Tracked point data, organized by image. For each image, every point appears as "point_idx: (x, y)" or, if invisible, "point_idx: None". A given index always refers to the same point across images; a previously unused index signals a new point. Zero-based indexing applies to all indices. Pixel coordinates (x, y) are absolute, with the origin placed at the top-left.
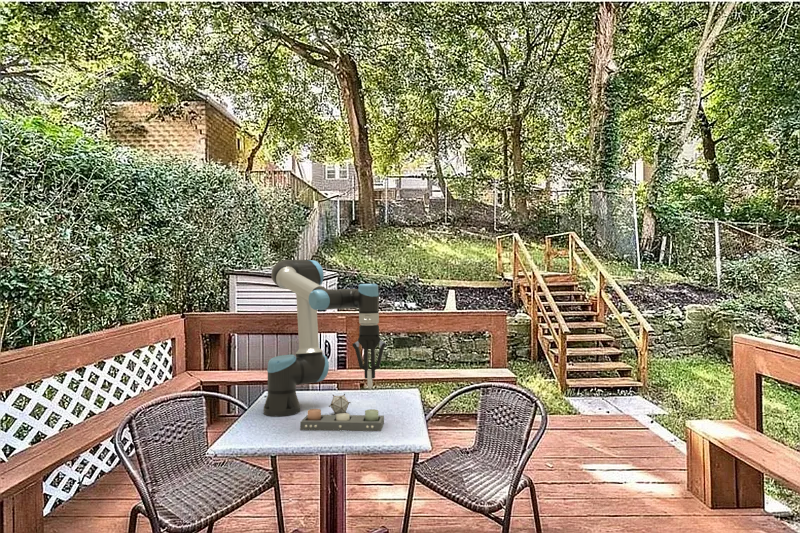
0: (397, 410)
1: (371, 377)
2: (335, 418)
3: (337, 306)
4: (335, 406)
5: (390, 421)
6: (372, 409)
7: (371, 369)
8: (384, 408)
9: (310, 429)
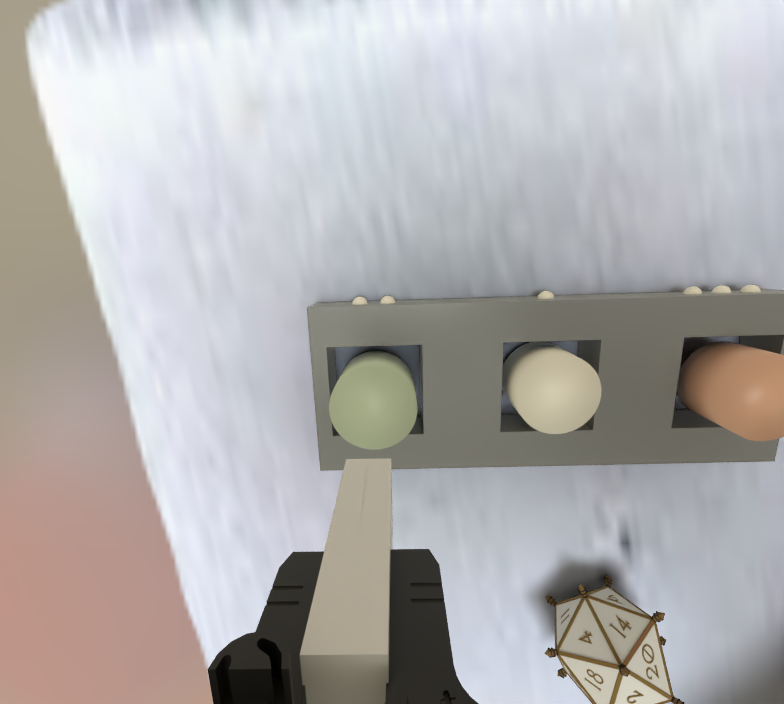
0: None
1: (327, 553)
2: None
3: None
4: (626, 607)
5: (302, 485)
6: (375, 446)
7: (282, 667)
8: None
9: (708, 291)
